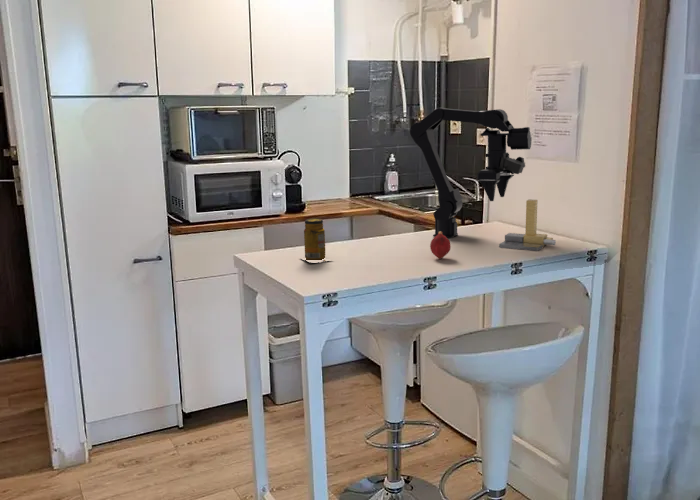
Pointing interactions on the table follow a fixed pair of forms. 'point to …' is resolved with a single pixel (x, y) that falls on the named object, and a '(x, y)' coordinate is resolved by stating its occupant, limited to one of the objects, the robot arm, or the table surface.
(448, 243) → the onion
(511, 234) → the fixed leaf
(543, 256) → the table surface
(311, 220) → the condiment
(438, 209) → the robot arm
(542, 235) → the brass block assembly
